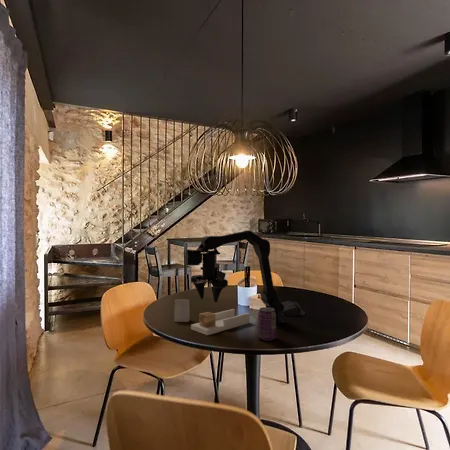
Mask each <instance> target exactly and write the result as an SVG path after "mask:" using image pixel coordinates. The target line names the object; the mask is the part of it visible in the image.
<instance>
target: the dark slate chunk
mask: <svg viewBox="0 0 450 450" xmlns="http://www.w3.org/2000/svg"><path fill="white" fill-rule="evenodd" d="M280 303H281V304H282V305H283V306H284V310H283V311H282V316H288V317H299V316H300V317H301V316H302V317H303V316H305V315H306V312H305V311H304V310H303V308H302V307H301V306H300V304H299V303H298V302H297V301H292V300H286V301H283V302H280Z"/></svg>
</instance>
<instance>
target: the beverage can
mask: <svg viewBox="0 0 450 450" xmlns="http://www.w3.org/2000/svg"><path fill="white" fill-rule="evenodd" d="M258 310H259V311H258V313H257V338H258V339H260V340H261V341H266V342H267V341H268V342H269V341H273V340H275V339H276V338H277V337H276V335H277V334H276V333H277V331H276V330H277V325H276V313H275V309H274V308H269V307H266V306H265V307H259V309H258Z"/></svg>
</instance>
